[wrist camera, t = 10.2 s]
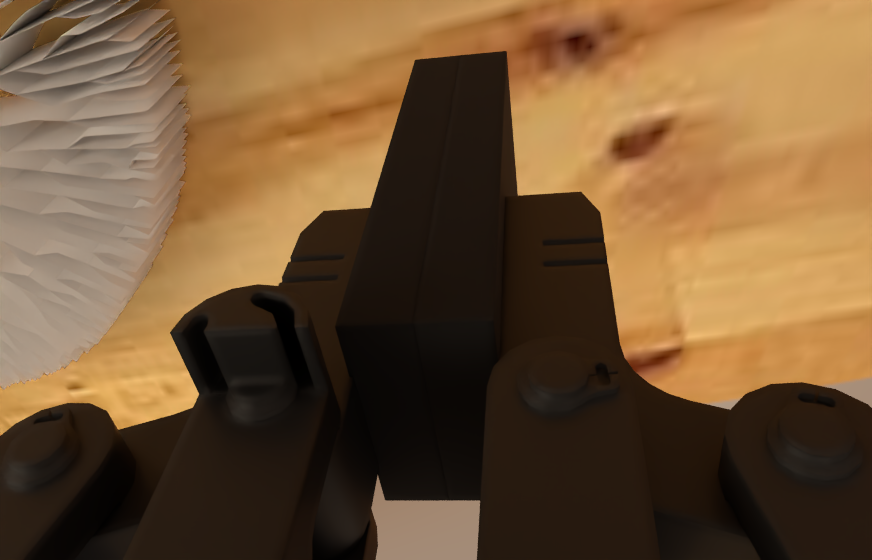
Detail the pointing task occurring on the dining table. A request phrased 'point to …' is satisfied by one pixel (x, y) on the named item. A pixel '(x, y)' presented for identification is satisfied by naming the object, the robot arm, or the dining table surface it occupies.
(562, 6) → the dining table surface
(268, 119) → the dining table surface
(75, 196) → the spiky fractal disc
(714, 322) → the dining table surface
